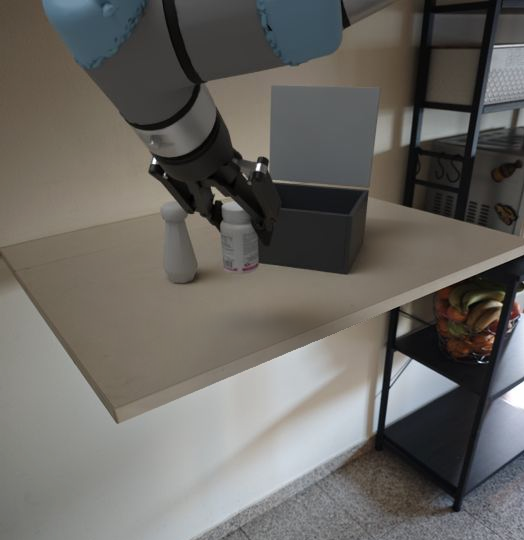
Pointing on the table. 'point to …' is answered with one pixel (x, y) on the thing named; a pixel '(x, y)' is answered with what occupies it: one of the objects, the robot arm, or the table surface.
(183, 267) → the salt shaker
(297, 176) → the grey box lid
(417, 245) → the table surface
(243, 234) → the pill bottle
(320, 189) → the box
